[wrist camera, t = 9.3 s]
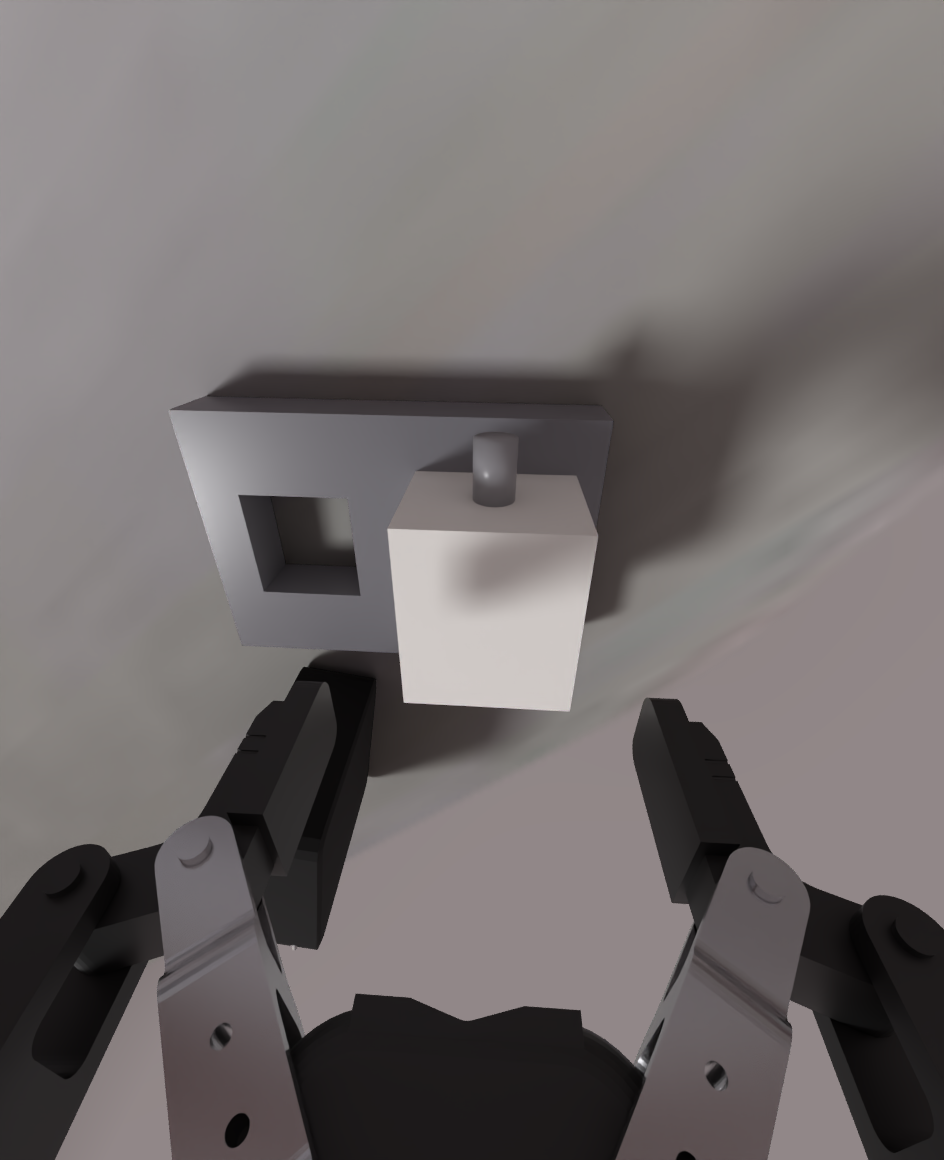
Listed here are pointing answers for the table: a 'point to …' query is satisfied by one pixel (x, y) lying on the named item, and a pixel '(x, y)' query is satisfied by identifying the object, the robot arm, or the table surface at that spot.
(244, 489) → the socket plate
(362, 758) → the electronic device
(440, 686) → the plug
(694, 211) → the table surface
